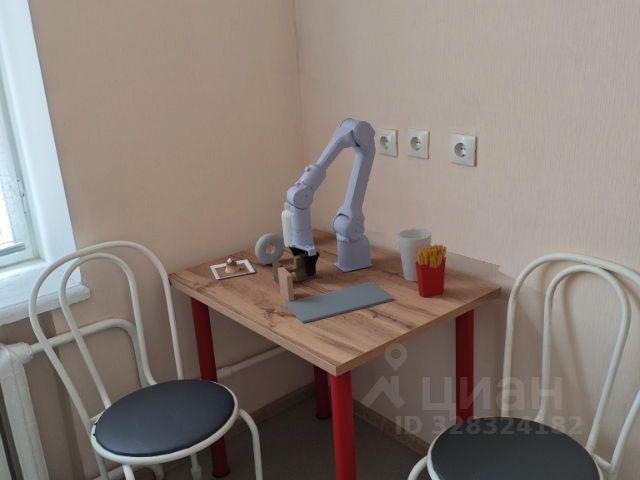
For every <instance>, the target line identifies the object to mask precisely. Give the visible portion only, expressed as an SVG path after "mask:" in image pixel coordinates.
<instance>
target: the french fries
mask: <svg viewBox="0 0 640 480" xmlns="http://www.w3.org/2000/svg"><path fill="white" fill-rule="evenodd" d="M446 253H447V247H446V246H445V245H442V244H440V245H438V244H434V245H431V244H430V245H429V247H428V246H426V249H425V248H422V249H420V250H419V252H418V253H417V258H418V261H417V262H416V272H417V281H416V282H417V287H418V288H417V289H418V296H419V297H422V298H429V299H430V298H434V297H436V296H439V295H442V294H443V293H444V291H445V290H444V289H445V288H444V287H445V274H446V262H447V261H446V260H447V256H446Z"/></svg>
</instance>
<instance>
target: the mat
mask: <svg viewBox="0 0 640 480" xmlns="http://www.w3.org/2000/svg"><path fill="white" fill-rule="evenodd" d="M391 301H394V297H393V296H391V294H389V293H387V292H386V291H384V290H383V289H382V288H380V287H379V286H378V285H376V284H375V283H374V282H372V281H368V282H363V283H360V284H357V285H352V286H347V287H344V288H339V289H336V290H332V291H327V292H323V293H319V294H315V295H311V296H310V295H309V296H307V297H302V298H298V299H294V301H289V302H287V301H286V302H284V305H285V307H287V308H288V309H289V311H290V312H291V313H292V314H293V315H294V316H295V317H296V318H297V319H298V321H300V322H301V323H302V324H306V323H309V322H313V321H317V320H320V319H326V318H329V317H332V316H336V315H341V314H345V313H348V312H352V311H356V310H360V309H363V308H368V307H373V306H375V305H380V304H383V303H387V302H391Z"/></svg>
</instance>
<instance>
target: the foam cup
mask: <svg viewBox="0 0 640 480" xmlns="http://www.w3.org/2000/svg"><path fill="white" fill-rule="evenodd" d="M431 243H432V232H431V231H429V230H427V229H423V228H408V229H407V228H406V229H402V230H400V231H399V232H397V244H398V249H399V254H400V260H401V265H402V272H403V276H404V279H405V280H407V281H410V282H418V281H417V272H416V262H417V261H418V258H417V253H418V252H419V250H420V249H422V248H425V249H426V246H428V247H429V245H431Z"/></svg>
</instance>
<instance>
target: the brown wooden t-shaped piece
mask: <svg viewBox="0 0 640 480" xmlns="http://www.w3.org/2000/svg"><path fill="white" fill-rule="evenodd" d="M271 265H272V272H273V281H275V283H276V284H278V286H279V287H280V285H279V275H278V268H281V267H283V268H284V269H286V270H287V271H288V272H289V273H290V274H291V273H294V276H295V277H294V278H295V280H296V281H297V282H299V281H303V280H307V279H313V278H317V277H318V276H317V274H318V273H317V266H316V267H315V273H314V275H313V276H309V277H307V275H306V272H305V268H304V264H303V261H302V259H301V257H300V256H299V255H298V256H294V257H293V266H290V267H284V265H283V263H281V262H280V261H279V260H277V259H276V258H272V264H271Z"/></svg>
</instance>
